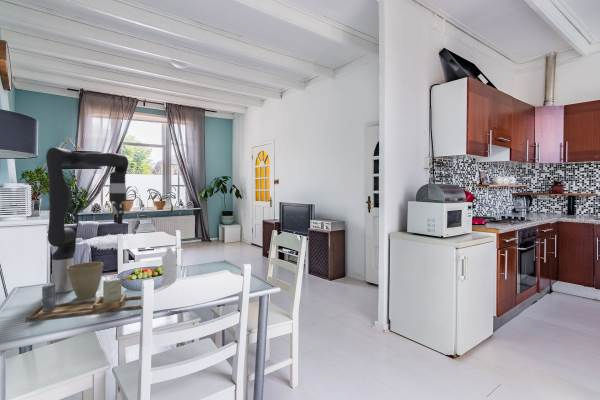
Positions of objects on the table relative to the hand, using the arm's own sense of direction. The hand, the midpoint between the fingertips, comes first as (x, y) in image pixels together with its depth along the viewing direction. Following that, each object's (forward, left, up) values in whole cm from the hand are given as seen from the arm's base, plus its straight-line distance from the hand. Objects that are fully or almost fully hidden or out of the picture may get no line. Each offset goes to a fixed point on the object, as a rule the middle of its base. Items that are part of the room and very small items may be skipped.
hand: (118, 223), depth 162 cm
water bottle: (+26, -18, -36) cm, 48 cm away
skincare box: (+1, -21, -36) cm, 42 cm away
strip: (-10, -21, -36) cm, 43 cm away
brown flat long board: (-6, -21, -36) cm, 42 cm away
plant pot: (-14, -2, -36) cm, 39 cm away
